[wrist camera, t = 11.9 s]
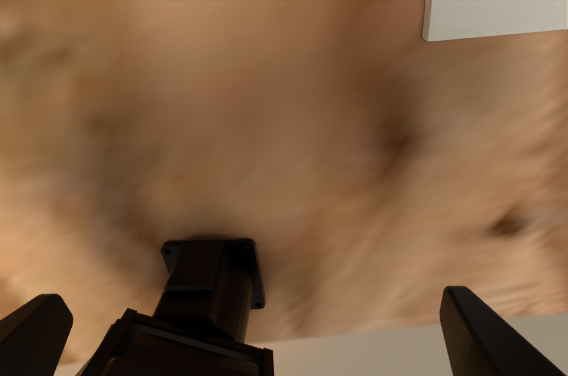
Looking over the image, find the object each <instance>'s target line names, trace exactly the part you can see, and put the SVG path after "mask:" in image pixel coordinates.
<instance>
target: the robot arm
mask: <svg viewBox="0 0 568 376" xmlns="http://www.w3.org/2000/svg"><path fill="white" fill-rule="evenodd" d="M245 246H249V247H250V248H246V247H245ZM168 249H170V250H168ZM161 253H162V255H163V258H164V261H165V264H166V266H167V269H168V272H169V274H170V275H169V277H168V279H167V282H166V284H165V286H164V291H163V293H162V296H161V298H160V300H159V302H158V304H157V307H156V309H155V311H154V313H153V316H152V317H151V316H147V315H144V314H140V313H137V311H136V310H133V309H129V308H127V310H126V311H125V313H124V314H123V316H122V318H121V319H117V321H116V322H115V324H112V325H111V326H110V328H109V330H108V332H107V333H106V335H105V337H104V339H103V341H102V342H101V344H100V346H99V347H98V349H97V350H96V352H95V353H94V354H93V356H92V357H91V358H90V359H89V360H88V361H87V362H86V364H85V365H84V366H83V367H82V368H81V369H80V371H79V372H78V373H77V374H76V375H75V376H274V364H273V350H270V349H267V348H263V349H261V348H257V347H254V346H251V345H247V344H244V341H245V335H246V330H247V324H248V318H249V313H250V309H262V308H264V306H265V295H264V290H263V285H262V279H261V274H260V268H259V263H258V257H257V252H256V246H255V243H254V242H253V241H252V240H249V239H241V240H212V241H183V242H166V243H164V244H163V246H162V248H161ZM258 302H259V303H258ZM440 322H441V327H442V331H443V335H444V339H445V343H446V348H447V352H448V356H449V360H450V364H451V368H452V372H453V376H566V375H565V374H564V373H563V372H562V371H561V370H559V369H558V368H557V367H556V366H555V365H554V364H553V363H552V362H551V361H550V360H548V359H547V358H546V357H545V356H544V355H543V354H542V353H541V352H539V351H538V350H537V349H536V348H535V347H534V346H532V345H531V344H530V343H529V342H528V341H527V340H526V339H525V338H524V337H523V336H521V335H520V334H519V333H518V332H517V331H516V330H515V329H514V328H512V327H511V326H510V325H509V324H508V323H507V322H506V321H505V320H503V319H502V318H501V317H500V316H499V315H498V314H497V313H496V312H494V311H493V310H492V309H491V308H490V307H489V306H488V305H487V304H485V303H484V302H483V301H482V300H481V299H480V298H479V297H478V296H476V295H475V294H474V293H473V292H472V291H471V290H470V289H469V288H467V287H465V286H447V287H445V289H444V291H443V296H442V301H441V306H440ZM72 325H73V315H72V313H71V312H70V310H69V309H68V307H67V305H66V304H65V302H64V300H63V299H62V297H61V296H60V295H58V294H41V295H38V296H36V297H35V298H33V299H32V300H30V301H29V302H27V303H26V304H24V305H23V306H21V307H20V308H18V309H17V310H15V311H14V312H12V313H11V314H9V315H8V316H6V317H5V318H3V319H2V320H0V376H53V375H54V373H55V370H56V367H57V365H58V362H59V359H60V357H61V354H62V352H63V349H64V346H65V344H66V341H67V338H68V336H69V333H70V331H71V328H72Z"/></svg>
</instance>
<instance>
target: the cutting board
mask: <svg viewBox="0 0 568 376" xmlns="http://www.w3.org/2000/svg"><path fill="white" fill-rule="evenodd" d="M564 29H568V0H426V3H425V13H424V23H423V34H422V38H423V39H425V40H426V41H428V42H430V41H441V40H452V39H464V38H475V37H486V36H497V35H508V34H519V33H531V32H542V31H553V30H564Z"/></svg>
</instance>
